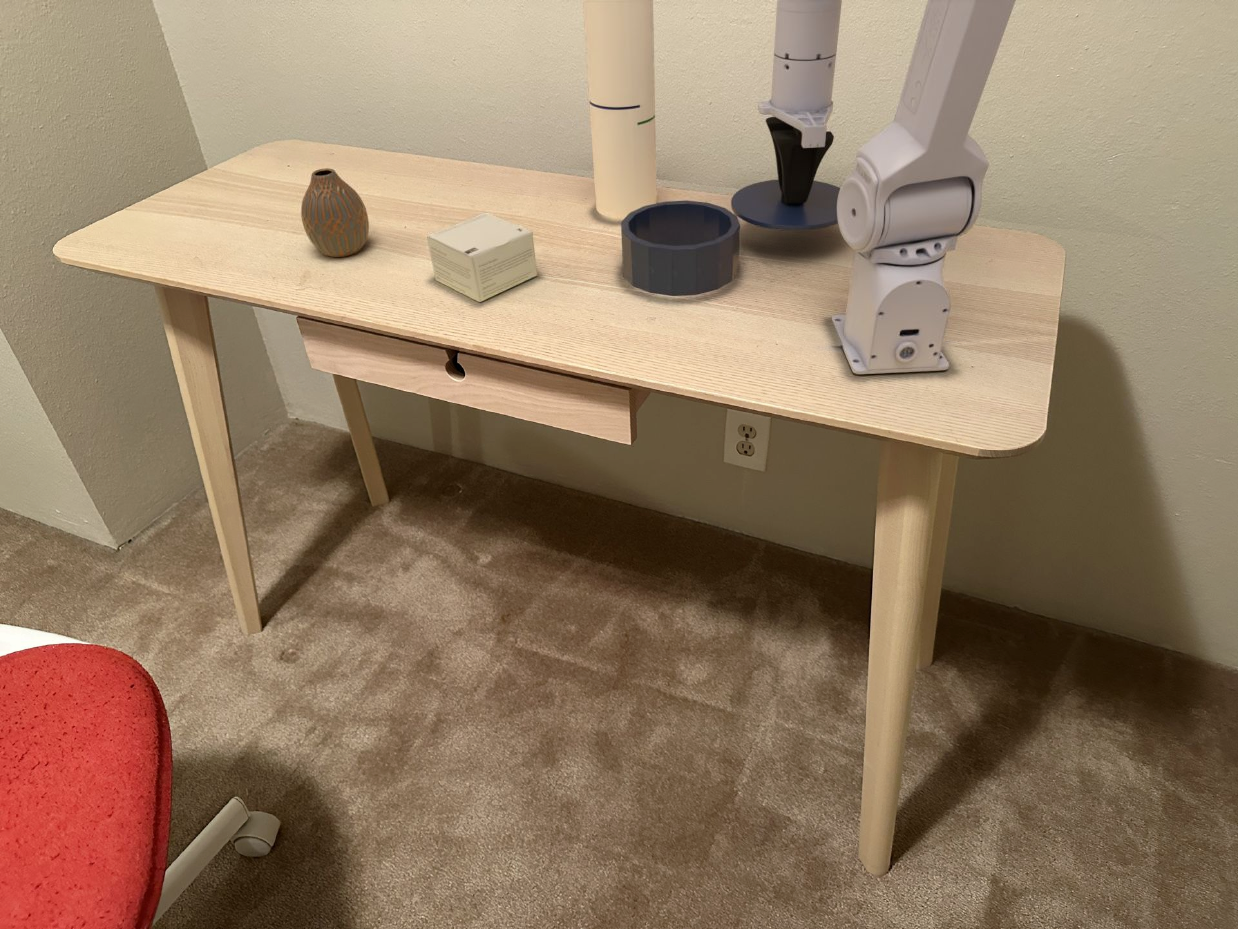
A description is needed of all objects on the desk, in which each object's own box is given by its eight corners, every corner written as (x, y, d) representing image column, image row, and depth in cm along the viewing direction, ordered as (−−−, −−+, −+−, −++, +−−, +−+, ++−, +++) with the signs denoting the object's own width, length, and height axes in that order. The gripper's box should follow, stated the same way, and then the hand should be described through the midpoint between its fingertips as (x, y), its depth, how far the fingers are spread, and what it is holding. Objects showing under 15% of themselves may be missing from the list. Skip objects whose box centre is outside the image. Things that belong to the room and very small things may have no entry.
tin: (743, 297, 83) (746, 245, 80) (624, 303, 83) (622, 251, 80) (729, 246, 92) (731, 197, 89) (622, 251, 92) (619, 203, 89)
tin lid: (867, 233, 84) (874, 187, 81) (739, 239, 84) (741, 194, 81) (839, 185, 94) (844, 143, 91) (724, 191, 94) (725, 149, 91)
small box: (492, 255, 93) (486, 210, 90) (539, 277, 89) (534, 229, 85) (433, 280, 89) (424, 234, 86) (479, 304, 84) (471, 256, 81)
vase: (300, 261, 94) (276, 182, 89) (330, 234, 99) (310, 159, 94) (357, 265, 93) (336, 185, 87) (385, 238, 98) (367, 161, 92)
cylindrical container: (589, 204, 103) (572, -33, 87) (645, 195, 104) (639, -40, 89) (606, 226, 98) (592, -22, 82) (665, 216, 99) (662, -30, 83)
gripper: (750, 37, 85) (744, 172, 94) (774, 76, 74) (764, 226, 82) (821, 33, 85) (809, 169, 94) (856, 71, 74) (838, 222, 82)
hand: (793, 195), depth 88 cm, fingers closed on tin lid, 2 cm apart
